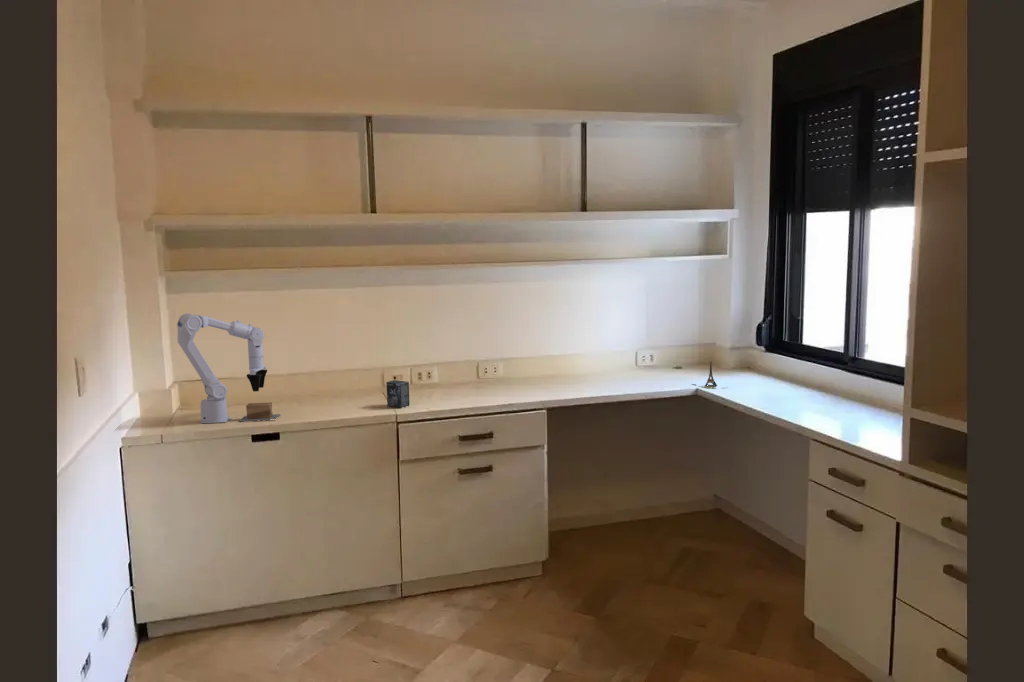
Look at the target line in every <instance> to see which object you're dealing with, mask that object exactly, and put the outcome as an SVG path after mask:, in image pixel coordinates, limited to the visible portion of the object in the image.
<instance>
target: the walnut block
mask: <svg viewBox="0 0 1024 682" xmlns="http://www.w3.org/2000/svg"><path fill="white" fill-rule="evenodd" d="M245 407H246V408H245V409H246V416H247V419H262V418H271V417H272V416H273V402H271V401H270V402H252V403H250V402H249V403H247V404H246V405H245Z"/></svg>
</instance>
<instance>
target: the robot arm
mask: <svg viewBox="0 0 1024 682" xmlns="http://www.w3.org/2000/svg"><path fill="white" fill-rule="evenodd" d="M176 326H177V339H176V340H177V343H178V345H179V346H180V348H181V350H182V351H183V353H184V354H185V356H186V357H187V359H188V361H189V362H190V364H191V365H192V367H193V369H194V370H195V371H196V373H197V374H198V376H199V378H200V379H201V382H202V384H203V387H204V392H205V394H206V395H207V396H206V399H202V400H201V401H200V417H201V422H200V424H215V423H216V424H218V423H219V424H221V423H223V424H224V423H226V422H228V421H230V420H231V419H232V416H228V403H227V395H228V388H227V386H226V385H225V384H224V383H222V382H220V379H219V378H218V377H217V376H216V375H215V374H214V372H213V371H212V368H211V367H210V366H209V364H208V362H207V361H206V360H205V358H204V356H203V354H202V353H201V352H200V350H199V348H198V346H197V345H196V344H195V342H194V339H195V336H196V334H197V333H198V332H199V331H200V329H201V328H203V329H204V328H207V327H212V328H216V329H220V330H223V331H227V332H228V333H227V334H229V336H232V337H236V338H241V339H244V340H247V353H248V354H247V355H248V370H249V373H247V374H246V378H247V380H248V381H249V383H250V385H251V389H252V392H259V390H260V388H261V389H262V388H264V386H265V380H266V375H267V372H268V366H265V361H264V345H263V339H264V338H265V333H264V331H263V330H262V329H261V328H259V327H257V326H254V325H253V324H250V323H249V324H246V323H242V321H240V320H236V321H235V320H234V321H231V322H226V321H223V320H220V319H218V318H214V317H211V316H207V315H201V314H191V313H184V314H181V316H179V319H178V321H177V323H176Z"/></svg>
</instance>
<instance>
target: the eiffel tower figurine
mask: <svg viewBox="0 0 1024 682" xmlns="http://www.w3.org/2000/svg"><path fill="white" fill-rule="evenodd" d="M709 363H710V364H709V374H708V378H707V380H706V383H705V385H704V386H702V385H701V386H700V385H698V387H700V388H703V389H707V390H708V389H709V390H717V389H718V388H717V387H718V384H717V383H716V382H715V379H714V376H713V368H712V365H713V364H712V360H710V362H709ZM692 385H693V386H695V387H697V384H696V383H695V384H693V383H691V386H692ZM707 385H708V386H707ZM721 389H724V387H721Z"/></svg>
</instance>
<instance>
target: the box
mask: <svg viewBox="0 0 1024 682" xmlns="http://www.w3.org/2000/svg"><path fill="white" fill-rule="evenodd" d="M409 383H410V382H409V381H405V380H396V379H394V380H390V381H387V382H386V403H387V404H386V405H387V407H388V406H390V407H391V408H396V407H398V408H397V409H403V408H402V407H404V408H407V407H406V406H408V407H410V406H409V405H411V403H410V389H409V388H410V384H409Z"/></svg>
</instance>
